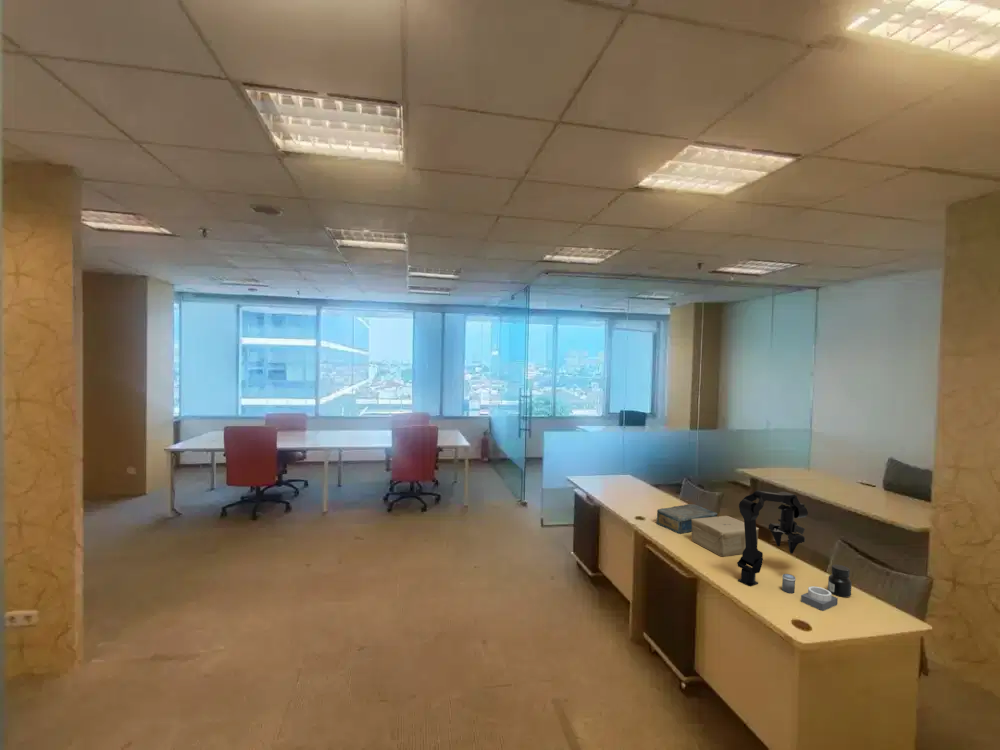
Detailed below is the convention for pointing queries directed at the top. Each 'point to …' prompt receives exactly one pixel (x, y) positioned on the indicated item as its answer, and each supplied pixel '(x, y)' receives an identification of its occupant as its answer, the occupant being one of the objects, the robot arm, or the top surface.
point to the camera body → (819, 598)
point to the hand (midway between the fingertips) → (784, 549)
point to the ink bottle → (840, 581)
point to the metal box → (682, 517)
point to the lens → (788, 583)
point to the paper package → (720, 534)
